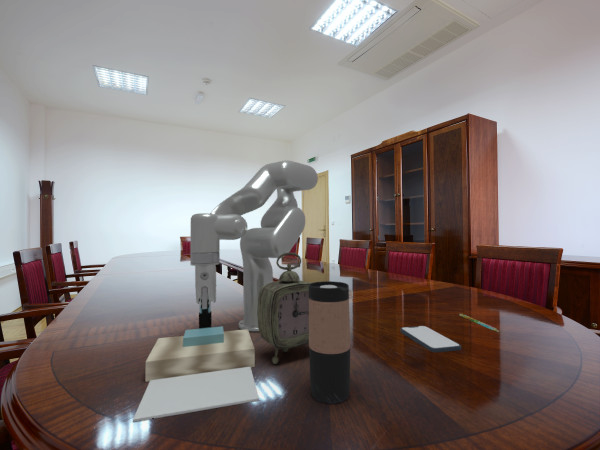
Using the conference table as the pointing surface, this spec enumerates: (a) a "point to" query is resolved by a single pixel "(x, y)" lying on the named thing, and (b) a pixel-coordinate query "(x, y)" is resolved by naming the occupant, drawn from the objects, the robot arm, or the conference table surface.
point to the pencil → (479, 322)
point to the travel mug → (329, 341)
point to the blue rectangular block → (203, 336)
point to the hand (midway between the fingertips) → (205, 327)
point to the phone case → (430, 339)
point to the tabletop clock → (284, 310)
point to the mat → (197, 393)
